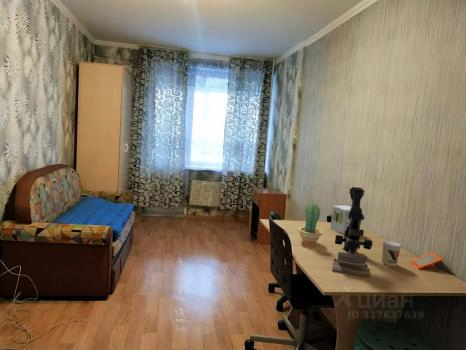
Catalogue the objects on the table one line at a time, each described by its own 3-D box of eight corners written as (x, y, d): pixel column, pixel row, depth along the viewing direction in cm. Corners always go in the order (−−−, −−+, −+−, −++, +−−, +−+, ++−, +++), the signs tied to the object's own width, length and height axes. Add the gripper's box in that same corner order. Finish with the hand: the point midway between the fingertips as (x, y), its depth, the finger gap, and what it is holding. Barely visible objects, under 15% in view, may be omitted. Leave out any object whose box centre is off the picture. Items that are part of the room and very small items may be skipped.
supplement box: (329, 228, 270) (332, 205, 268) (342, 227, 277) (345, 205, 274) (342, 234, 259) (345, 210, 256) (356, 232, 265) (359, 209, 263)
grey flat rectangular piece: (337, 260, 199) (337, 256, 200) (364, 265, 195) (364, 261, 196) (338, 256, 188) (338, 251, 189) (366, 261, 184) (367, 256, 185)
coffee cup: (387, 267, 200) (390, 246, 198) (376, 260, 209) (379, 240, 207) (401, 266, 202) (404, 246, 201) (390, 260, 211) (393, 240, 210)
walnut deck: (333, 261, 201) (333, 257, 201) (367, 267, 196) (368, 264, 196) (332, 271, 187) (332, 266, 187) (369, 278, 182) (369, 273, 182)
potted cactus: (319, 240, 239) (324, 202, 236) (323, 247, 224) (327, 208, 221) (295, 237, 241) (300, 200, 237) (297, 244, 225) (302, 205, 222)
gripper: (337, 220, 196) (334, 246, 187) (374, 225, 190) (373, 252, 181) (336, 230, 204) (333, 255, 195) (371, 236, 199) (370, 262, 190)
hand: (352, 256), depth 190 cm, fingers closed
